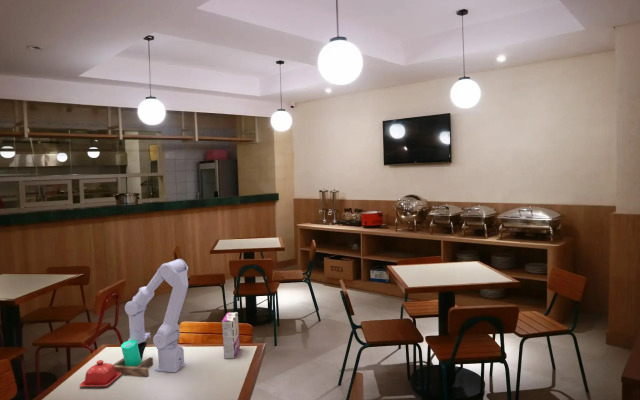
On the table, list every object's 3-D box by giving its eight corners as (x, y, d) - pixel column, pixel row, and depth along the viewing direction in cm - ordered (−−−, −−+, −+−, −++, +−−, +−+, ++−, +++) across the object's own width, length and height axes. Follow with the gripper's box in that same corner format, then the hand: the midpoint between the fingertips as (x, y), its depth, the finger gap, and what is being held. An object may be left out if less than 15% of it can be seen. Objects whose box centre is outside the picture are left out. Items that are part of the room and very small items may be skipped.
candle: (144, 361, 190) (138, 335, 187) (138, 370, 184) (132, 344, 181) (130, 362, 190) (124, 336, 187) (123, 371, 185) (117, 345, 182)
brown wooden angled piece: (161, 365, 189) (161, 358, 189) (146, 376, 179) (145, 369, 178) (119, 362, 193) (118, 355, 193) (101, 373, 183) (101, 365, 183)
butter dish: (95, 375, 182) (93, 354, 182) (123, 375, 181) (121, 354, 181) (77, 389, 171) (76, 367, 170) (107, 389, 170) (106, 367, 169)
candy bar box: (228, 348, 204) (227, 312, 203) (240, 348, 204) (238, 311, 203) (223, 359, 193) (221, 320, 192) (235, 358, 193) (233, 320, 191)
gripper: (139, 322, 197) (141, 353, 199) (116, 334, 183) (119, 367, 184) (153, 322, 196) (155, 354, 197) (132, 335, 182) (134, 368, 183)
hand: (139, 360), depth 191 cm, fingers closed
